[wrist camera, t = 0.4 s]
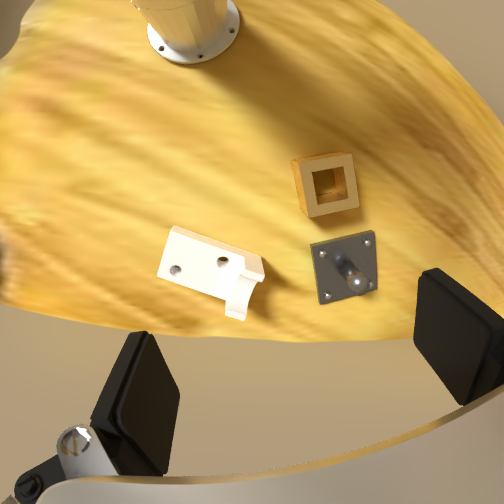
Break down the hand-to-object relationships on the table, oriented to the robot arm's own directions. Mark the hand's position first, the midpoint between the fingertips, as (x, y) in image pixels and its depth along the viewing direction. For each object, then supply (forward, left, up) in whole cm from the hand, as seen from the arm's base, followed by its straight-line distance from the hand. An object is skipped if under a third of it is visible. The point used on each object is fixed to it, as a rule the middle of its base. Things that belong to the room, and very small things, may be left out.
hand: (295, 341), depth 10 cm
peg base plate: (+15, +12, -33) cm, 38 cm away
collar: (+1, +10, -33) cm, 35 cm away
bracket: (+9, -8, -34) cm, 36 cm away
